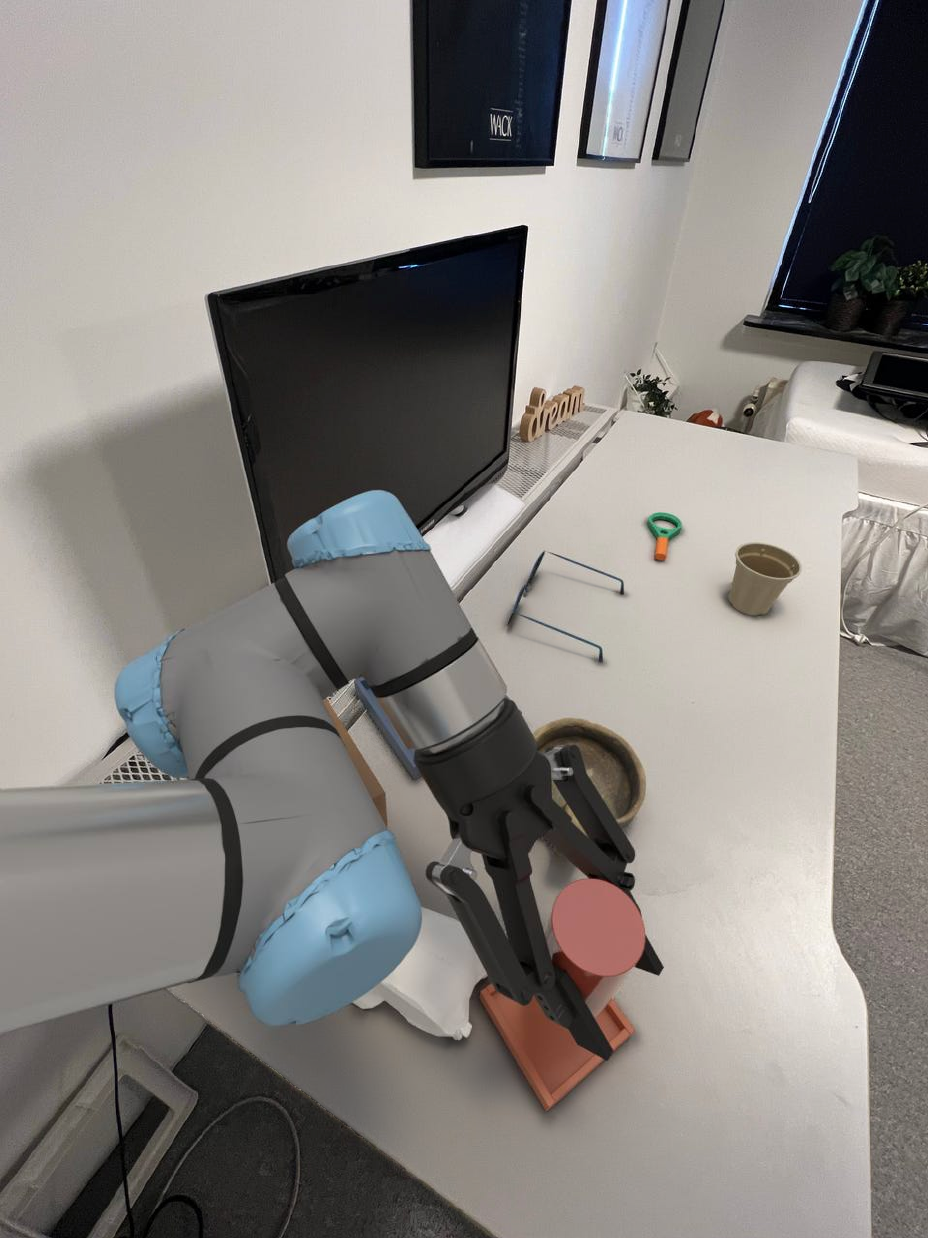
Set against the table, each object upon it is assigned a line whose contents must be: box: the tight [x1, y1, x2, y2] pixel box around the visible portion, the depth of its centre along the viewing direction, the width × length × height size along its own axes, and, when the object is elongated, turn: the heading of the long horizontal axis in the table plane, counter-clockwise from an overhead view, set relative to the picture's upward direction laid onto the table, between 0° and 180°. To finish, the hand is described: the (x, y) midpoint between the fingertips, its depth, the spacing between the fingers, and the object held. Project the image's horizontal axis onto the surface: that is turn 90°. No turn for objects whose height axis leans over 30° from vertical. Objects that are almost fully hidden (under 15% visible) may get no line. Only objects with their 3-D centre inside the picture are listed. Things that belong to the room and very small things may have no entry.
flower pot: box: [728, 541, 803, 617], centre depth 92 cm, size 9×9×9 cm
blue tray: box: [353, 676, 523, 781], centre depth 74 cm, size 15×15×2 cm
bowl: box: [532, 717, 647, 859], centre depth 62 cm, size 14×18×10 cm
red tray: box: [478, 982, 636, 1113], centre depth 50 cm, size 9×9×2 cm
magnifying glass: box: [647, 511, 683, 561], centre depth 107 cm, size 15×6×2 cm, turn 162°
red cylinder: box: [543, 877, 646, 1018], centre depth 41 cm, size 6×6×9 cm
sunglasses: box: [506, 550, 625, 663], centre depth 90 cm, size 17×15×5 cm
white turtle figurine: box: [351, 906, 488, 1041], centre depth 50 cm, size 9×8×15 cm
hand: (621, 1004), depth 41 cm, fingers closed on red cylinder, 6 cm apart
